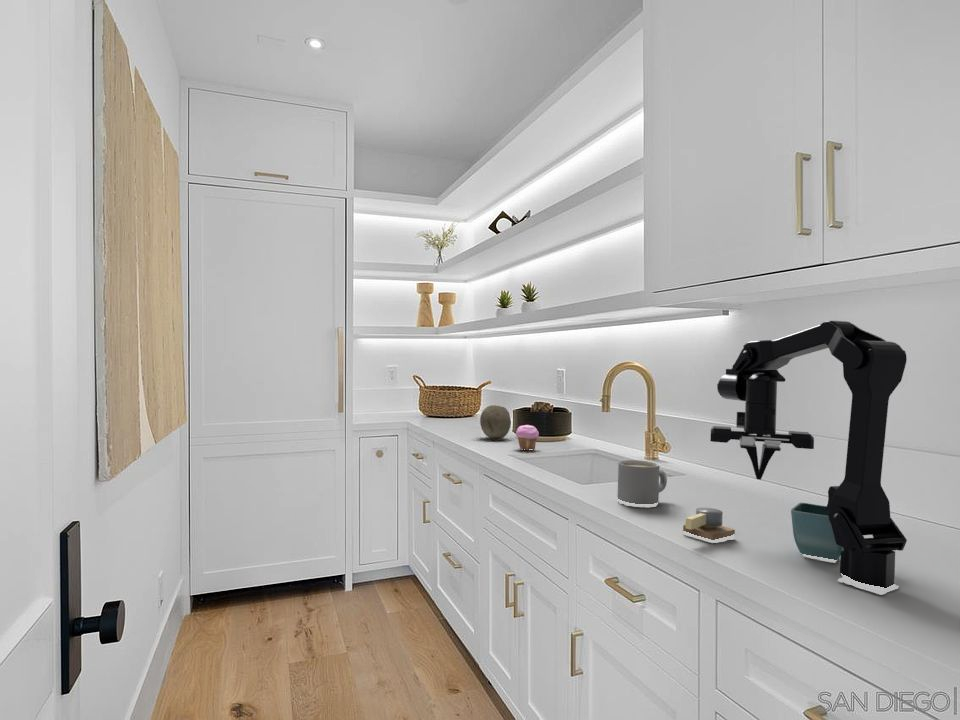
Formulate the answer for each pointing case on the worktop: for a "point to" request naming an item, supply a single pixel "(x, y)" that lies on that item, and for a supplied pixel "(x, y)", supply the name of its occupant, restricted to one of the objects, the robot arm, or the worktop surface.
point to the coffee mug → (640, 481)
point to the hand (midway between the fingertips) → (758, 479)
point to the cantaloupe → (495, 422)
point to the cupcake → (527, 436)
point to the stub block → (711, 531)
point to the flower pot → (814, 531)
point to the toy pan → (704, 518)
